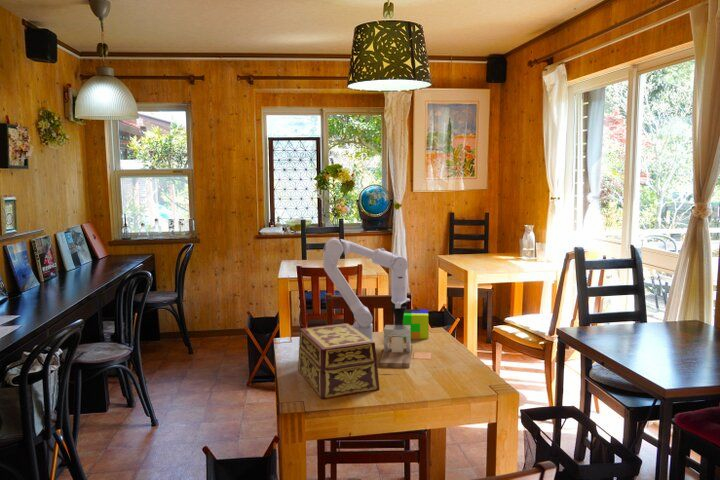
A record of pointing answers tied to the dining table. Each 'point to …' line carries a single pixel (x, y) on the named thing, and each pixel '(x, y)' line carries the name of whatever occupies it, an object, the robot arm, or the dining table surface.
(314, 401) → the dining table surface
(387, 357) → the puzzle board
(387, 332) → the sliding cover
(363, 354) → the decorative box
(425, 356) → the terracotta tile
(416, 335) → the puzzle toy
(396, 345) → the cream block
